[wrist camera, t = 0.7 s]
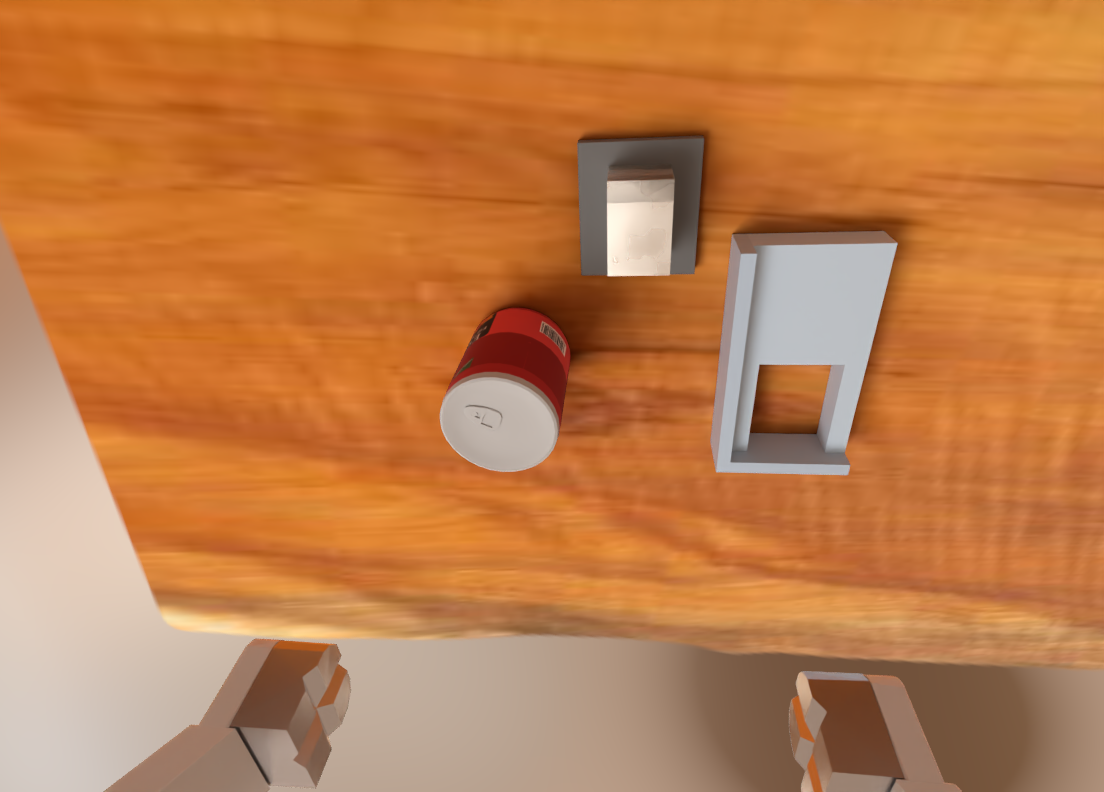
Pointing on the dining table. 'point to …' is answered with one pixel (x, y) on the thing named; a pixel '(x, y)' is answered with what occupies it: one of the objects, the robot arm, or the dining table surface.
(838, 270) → the grey slotted tray
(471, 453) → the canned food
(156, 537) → the dining table surface
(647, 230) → the white boxy piece
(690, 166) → the pad
